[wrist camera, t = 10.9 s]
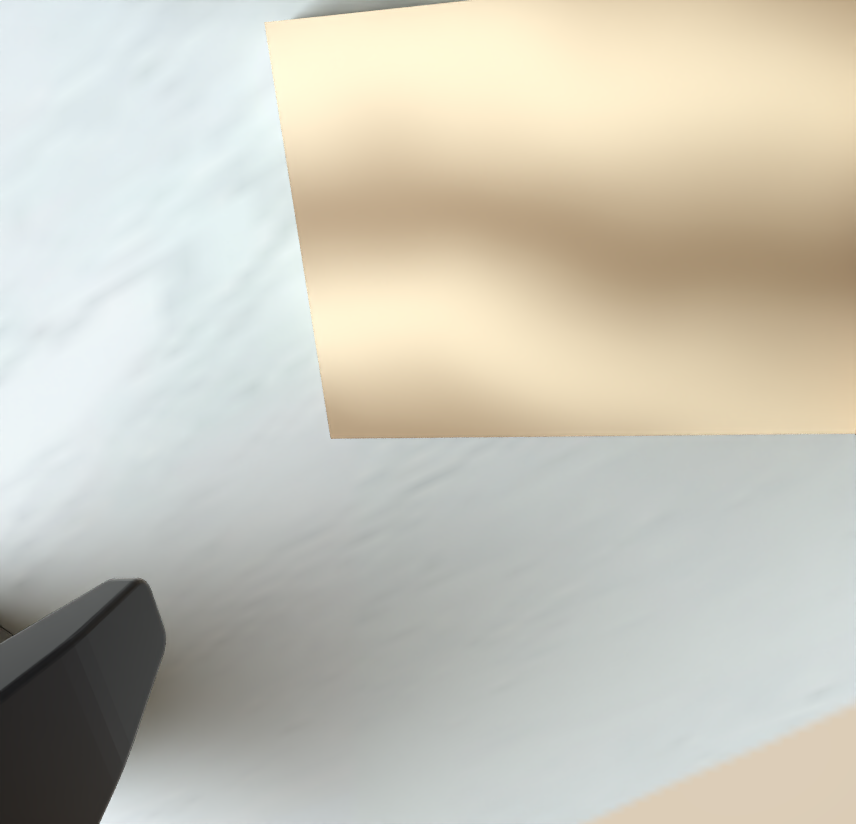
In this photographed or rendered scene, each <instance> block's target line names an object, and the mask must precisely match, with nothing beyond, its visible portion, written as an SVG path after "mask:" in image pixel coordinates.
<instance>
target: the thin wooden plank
mask: <svg viewBox="0 0 856 824" xmlns="http://www.w3.org/2000/svg"><path fill="white" fill-rule="evenodd" d="M264 23H265V29H266V35H267V42H268V48H269V54H270V61H271V67H272V73H273V79H274V86H275V92H276V98H277V104H278V111H279V117H280V123H281V130H282V136H283V142H284V148H285V155H286V161H287V167H288V173H289V180H290V186H291V192H292V199H293V205H294V211H295V217H296V224H297V230H298V236H299V242H300V249H301V255H302V261H303V268H304V274H305V280H306V286H307V293H308V299H309V305H310V311H311V318H312V324H313V330H314V337H315V343H316V349H317V355H318V362H319V368H320V374H321V380H322V387H323V393H324V399H325V406H326V412H327V418H328V424H329V431H330V437H331V439H338V438H443V437H549V436H655V435H760V434H855V435H856V0H468V1H459V2H450V3H440V4H431V5H422V6H412V7H403V8H394V9H385V10H375V11H366V12H357V13H348V14H338V15H329V16H320V17H310V18H301V19H292V20H283V21H273V22H264Z"/></svg>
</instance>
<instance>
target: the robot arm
mask: <svg viewBox="0 0 856 824" xmlns="http://www.w3.org/2000/svg"><path fill="white" fill-rule="evenodd" d="M165 645H166V634H165V629H164V626H163V623H162V620H161V617H160V614H159V611H158V608H157V605H156V602H155V599H154V597H153V594H152V591H151V588H150V586H149V584H148V583H147V582H146V581H145V580H143V579H141V578H114V579H110V580H108V581H106V582H104V583H102V584H101V585H99V586H97V587H95V588H94V589H92V590H90V591H89V592H87V593H85V594H84V595H82V596H80V597H78V598H77V599H75V600H73V601H72V602H70V603H68V604H67V605H65V606H63V607H61V608H60V609H58V610H56V611H55V612H53V613H51V614H50V615H48V616H46V617H44V618H43V619H41V620H39V621H38V622H36V623H34V624H33V625H31V626H29V627H27V628H26V629H24V630H22V631H21V632H19V633H17V634H16V635H14V636H12V637H11V638H9V639H7V640H5V641H4V642H2V643H0V824H99V823H100V821H101V819H102V817H103V815H104V812H105V810H106V808H107V806H108V804H109V801H110V799H111V797H112V795H113V793H114V790H115V788H116V786H117V784H118V781H119V779H120V777H121V774H122V772H123V769H124V767H125V764H126V762H127V759H128V756H129V754H130V751H131V748H132V746H133V743H134V740H135V737H136V734H137V731H138V728H139V725H140V722H141V719H142V716H143V713H144V710H145V707H146V704H147V701H148V698H149V696H150V693H151V690H152V687H153V684H154V681H155V678H156V675H157V672H158V669H159V666H160V663H161V660H162V657H163V654H164V651H165Z"/></svg>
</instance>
